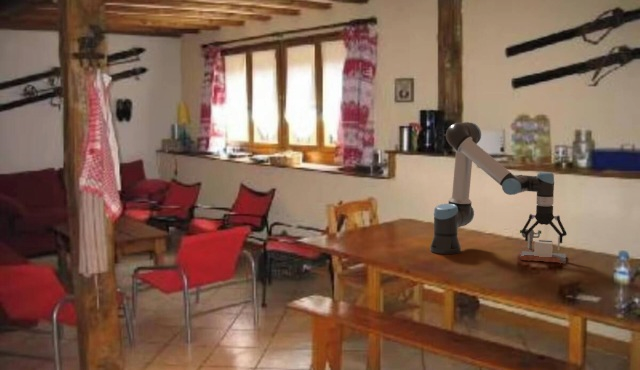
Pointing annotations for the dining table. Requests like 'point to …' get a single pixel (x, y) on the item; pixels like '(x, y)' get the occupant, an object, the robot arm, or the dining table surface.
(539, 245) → the cream slotted box
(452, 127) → the robot arm
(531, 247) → the mechanical component
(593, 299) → the dining table surface
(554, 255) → the board
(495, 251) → the dining table surface
